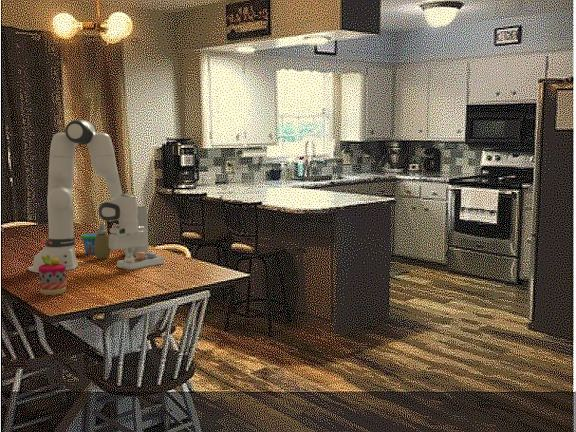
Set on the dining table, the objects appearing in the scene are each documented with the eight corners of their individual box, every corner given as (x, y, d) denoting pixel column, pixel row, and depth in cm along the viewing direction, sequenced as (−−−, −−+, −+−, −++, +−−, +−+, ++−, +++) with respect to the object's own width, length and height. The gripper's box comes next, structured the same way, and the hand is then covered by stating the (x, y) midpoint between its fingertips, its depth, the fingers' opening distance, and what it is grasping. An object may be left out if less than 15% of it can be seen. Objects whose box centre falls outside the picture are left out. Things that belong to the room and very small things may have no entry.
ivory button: (128, 264, 300) (128, 258, 300) (122, 263, 303) (122, 257, 302) (136, 263, 303) (136, 257, 303) (130, 261, 306) (130, 255, 306)
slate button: (150, 260, 310) (150, 254, 310) (145, 259, 313) (144, 253, 312) (157, 259, 313) (157, 253, 313) (152, 258, 316) (152, 252, 316)
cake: (70, 289, 260) (69, 253, 258) (62, 295, 250) (60, 258, 248) (44, 289, 260) (43, 253, 258) (35, 295, 249) (33, 258, 247)
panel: (129, 270, 297) (129, 263, 297) (117, 267, 304) (117, 260, 303) (163, 263, 313) (163, 257, 312) (150, 260, 319) (150, 255, 319)
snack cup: (77, 252, 340) (76, 233, 339) (96, 250, 347) (95, 231, 346) (88, 256, 328) (88, 237, 327) (108, 254, 335) (107, 235, 334)
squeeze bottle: (106, 260, 320) (105, 224, 318) (91, 259, 322) (90, 224, 320) (113, 257, 328) (112, 222, 326) (99, 256, 330) (98, 222, 328)
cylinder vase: (134, 257, 328) (133, 209, 324) (119, 254, 335) (117, 207, 332) (153, 254, 338) (152, 207, 334) (137, 251, 345) (136, 205, 342)
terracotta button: (139, 259, 305) (139, 253, 304) (134, 258, 308) (133, 252, 307) (147, 258, 308) (146, 252, 308) (141, 257, 311) (141, 251, 311)
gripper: (142, 225, 311) (142, 253, 312) (106, 229, 295) (107, 258, 297) (150, 226, 307) (150, 254, 308) (114, 231, 291) (115, 260, 293)
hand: (129, 256), depth 303 cm, fingers closed
